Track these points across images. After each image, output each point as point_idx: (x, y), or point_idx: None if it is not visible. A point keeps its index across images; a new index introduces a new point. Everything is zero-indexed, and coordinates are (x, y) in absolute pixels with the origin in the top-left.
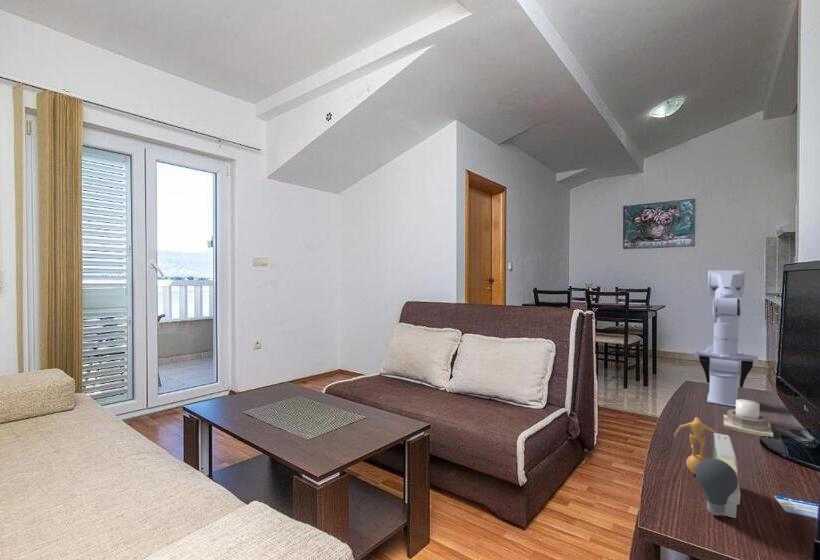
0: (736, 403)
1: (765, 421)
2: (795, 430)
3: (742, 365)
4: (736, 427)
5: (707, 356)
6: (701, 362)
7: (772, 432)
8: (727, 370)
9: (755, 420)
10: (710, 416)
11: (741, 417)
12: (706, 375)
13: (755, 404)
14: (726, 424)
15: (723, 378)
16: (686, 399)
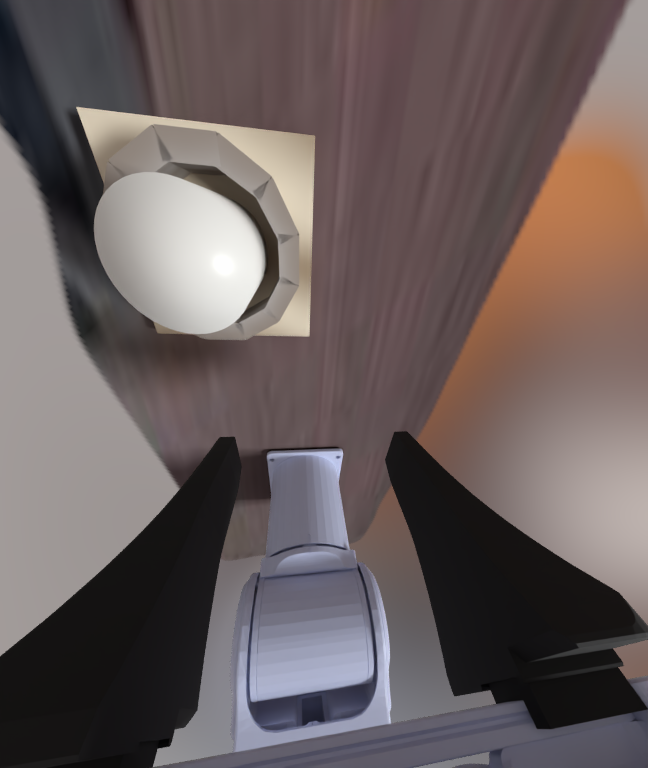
0: (249, 242)
1: (107, 188)
2: (82, 331)
3: (84, 712)
4: (258, 136)
5: (554, 734)
6: (604, 590)
7: (97, 164)
8: (297, 585)
9: (146, 142)
10: (349, 322)
11: (227, 168)
12: (439, 465)
13: (117, 231)
14: (303, 171)
15: (310, 539)
16: None
